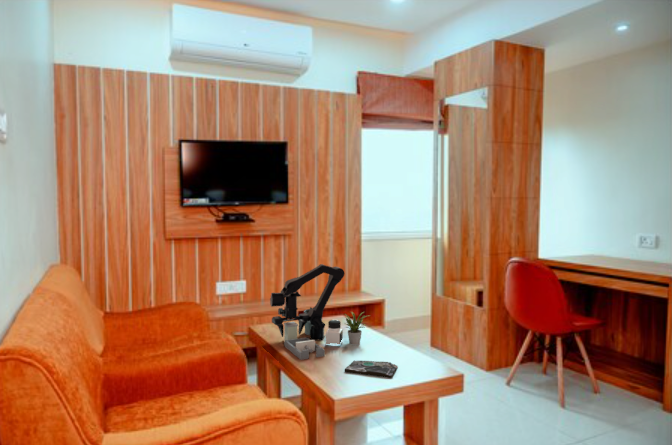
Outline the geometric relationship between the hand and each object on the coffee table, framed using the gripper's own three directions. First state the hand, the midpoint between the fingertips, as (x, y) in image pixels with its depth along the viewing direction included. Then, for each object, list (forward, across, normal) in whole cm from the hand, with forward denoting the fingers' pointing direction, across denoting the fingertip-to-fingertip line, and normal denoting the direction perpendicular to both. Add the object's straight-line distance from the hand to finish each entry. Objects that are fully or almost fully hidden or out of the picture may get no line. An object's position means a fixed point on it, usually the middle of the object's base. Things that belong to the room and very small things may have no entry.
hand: (290, 335), depth 244 cm
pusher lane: (+3, 0, +18) cm, 18 cm away
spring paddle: (+3, 0, +22) cm, 22 cm away
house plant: (+3, -29, +17) cm, 34 cm away
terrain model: (+4, -18, +51) cm, 54 cm away
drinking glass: (+3, -16, -8) cm, 18 cm away
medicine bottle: (+3, -18, +14) cm, 23 cm away
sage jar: (+3, 0, 0) cm, 3 cm away
